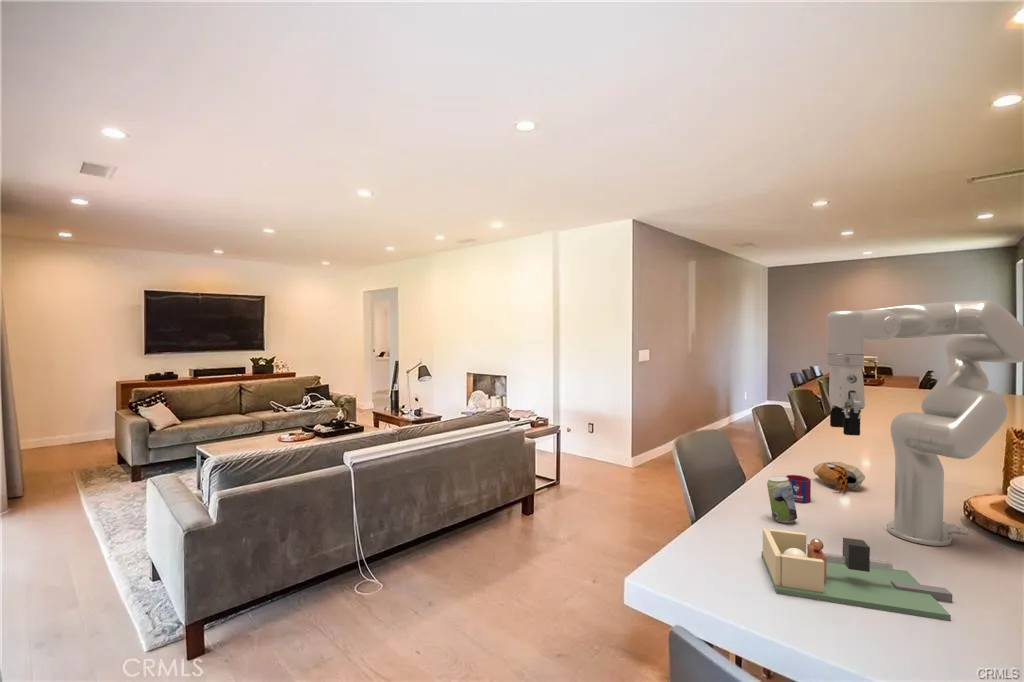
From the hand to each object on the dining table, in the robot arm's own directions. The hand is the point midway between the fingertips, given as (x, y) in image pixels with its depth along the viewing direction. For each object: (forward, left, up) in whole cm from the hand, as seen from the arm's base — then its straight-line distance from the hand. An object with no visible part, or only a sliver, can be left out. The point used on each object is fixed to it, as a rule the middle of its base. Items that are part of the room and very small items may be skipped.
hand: (844, 430), depth 116 cm
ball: (+15, +21, -25) cm, 36 cm away
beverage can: (+11, -12, -28) cm, 33 cm away
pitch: (+4, +21, -28) cm, 36 cm away
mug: (+2, -34, -28) cm, 44 cm away
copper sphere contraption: (+5, +21, -27) cm, 34 cm away
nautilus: (-13, -50, -29) cm, 59 cm away
